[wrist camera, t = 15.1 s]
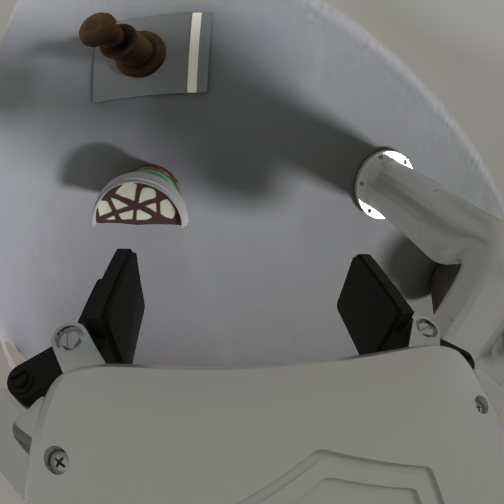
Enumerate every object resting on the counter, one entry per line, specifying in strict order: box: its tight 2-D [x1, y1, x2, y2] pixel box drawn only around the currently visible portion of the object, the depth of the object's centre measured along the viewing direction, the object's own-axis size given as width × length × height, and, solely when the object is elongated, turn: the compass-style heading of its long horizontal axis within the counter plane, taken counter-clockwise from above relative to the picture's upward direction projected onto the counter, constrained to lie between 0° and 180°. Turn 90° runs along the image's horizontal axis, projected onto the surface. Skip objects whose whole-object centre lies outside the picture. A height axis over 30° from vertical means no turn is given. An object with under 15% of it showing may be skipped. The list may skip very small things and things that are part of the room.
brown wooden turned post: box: [79, 13, 166, 78], centre depth 19 cm, size 7×6×18 cm
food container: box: [92, 165, 188, 229], centre depth 32 cm, size 12×6×10 cm, turn 82°
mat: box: [93, 13, 213, 103], centre depth 27 cm, size 16×12×1 cm
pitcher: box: [431, 263, 504, 337], centre depth 48 cm, size 21×22×25 cm
